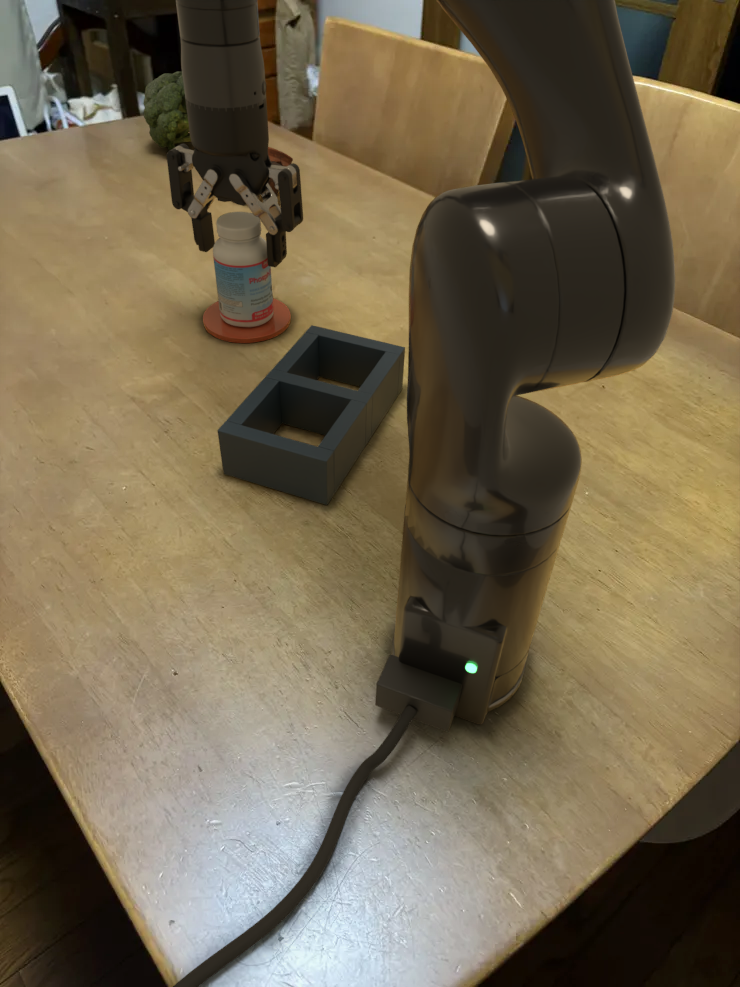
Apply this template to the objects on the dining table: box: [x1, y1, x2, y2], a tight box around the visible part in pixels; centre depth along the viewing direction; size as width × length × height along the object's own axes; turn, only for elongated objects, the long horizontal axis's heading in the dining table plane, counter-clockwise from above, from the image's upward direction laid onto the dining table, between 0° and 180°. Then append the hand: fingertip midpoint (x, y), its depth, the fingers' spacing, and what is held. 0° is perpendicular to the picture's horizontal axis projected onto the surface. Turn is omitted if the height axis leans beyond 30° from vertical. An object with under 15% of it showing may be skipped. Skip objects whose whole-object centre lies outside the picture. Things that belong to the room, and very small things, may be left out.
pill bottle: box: [212, 211, 274, 327], centre depth 82 cm, size 6×6×11 cm
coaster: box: [202, 297, 292, 344], centre depth 86 cm, size 10×10×1 cm
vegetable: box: [143, 70, 191, 151], centre depth 124 cm, size 12×13×15 cm
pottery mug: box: [258, 146, 294, 200], centre depth 111 cm, size 12×10×8 cm
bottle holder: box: [217, 324, 406, 506], centre depth 71 cm, size 19×10×5 cm, turn 158°
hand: (241, 256), depth 81 cm, fingers open, 8 cm apart
